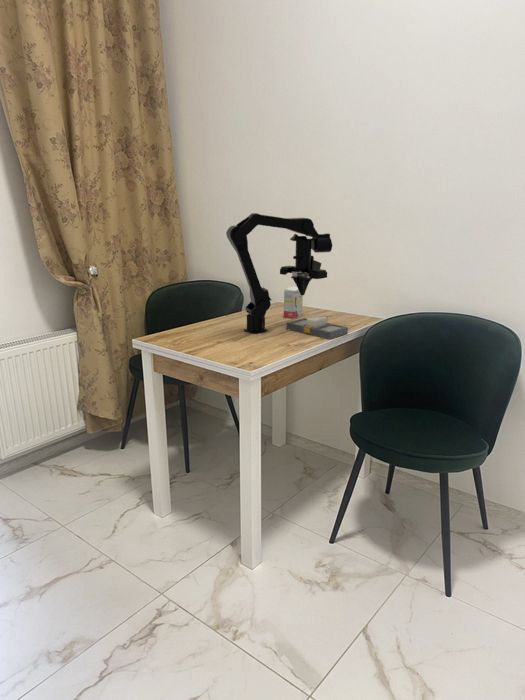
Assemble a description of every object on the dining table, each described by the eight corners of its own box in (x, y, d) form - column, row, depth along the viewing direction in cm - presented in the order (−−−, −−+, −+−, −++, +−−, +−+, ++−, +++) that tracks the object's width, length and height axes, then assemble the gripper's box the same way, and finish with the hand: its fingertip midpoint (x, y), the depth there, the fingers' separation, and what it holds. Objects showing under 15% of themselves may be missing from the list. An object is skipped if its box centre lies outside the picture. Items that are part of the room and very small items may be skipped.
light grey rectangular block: (314, 332, 180) (315, 320, 179) (306, 330, 183) (306, 319, 181) (326, 329, 185) (326, 317, 184) (318, 327, 188) (318, 315, 186)
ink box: (293, 318, 204) (293, 290, 200) (283, 317, 206) (283, 289, 203) (303, 314, 211) (303, 287, 207) (292, 313, 213) (293, 286, 210)
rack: (329, 339, 173) (329, 332, 172) (286, 329, 187) (286, 322, 186) (347, 333, 181) (347, 326, 180) (304, 324, 194) (304, 317, 194)
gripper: (337, 253, 181) (335, 295, 186) (298, 249, 194) (297, 289, 198) (318, 255, 173) (316, 299, 178) (279, 252, 186) (278, 293, 191)
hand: (302, 295), depth 186 cm, fingers closed
